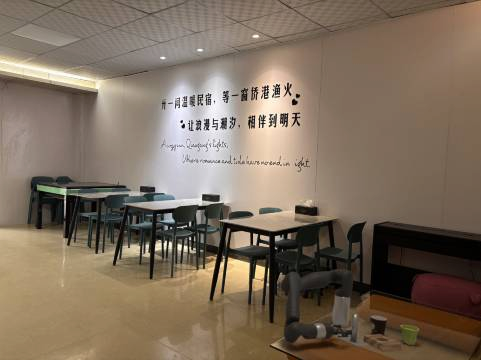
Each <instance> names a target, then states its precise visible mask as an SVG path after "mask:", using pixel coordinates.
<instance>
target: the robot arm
mask: <svg viewBox="0 0 481 360" xmlns="http://www.w3.org/2000/svg"><path fill="white" fill-rule="evenodd" d="M353 283H354V274H353V272H352V271H351V270H348V269H345V268H337V269H332V270H329V271H325V270H324V271H315V272H311V273H309V274H308V273H307V274H306V275H304V276H302V277H301V276H300V274H299V273H298V272H295V271H290V272H288V273H287V274H286V275H285V277H284V278H283V279H282V280H281V283H280V288H281V290H282V291H283V292H284V293H286V294H288V297H287V301H286V306H285V322H284V326H283V327H284V328H283V336H284V340H286V342H287V343H289V344H293V343H296V342H297V341H298V339H299V338H300V337H302V338H303V339H305V340H329V339H330V338H332V336H335V337H336V336H337V338H339V339H341V338H340V337H348V336H351V335H352V330H351V329H348V330H347V329H342V328H343V327H345V328H346V327H349V322H350V308H351V295H352V291H353V285H354V284H353ZM329 284H339V285H341V287H340V289H336V290H335V291H334V302H333V303H334V304H333V307H332V314H331V316H332V317H331V318H332V319H331V322H330V323H329V322H317V323H316V322H315V323H308V324H307V323H304V322H300V320H301V318H300V317H301V315H300V297H301V292H303V291H307V290H309V291H310V290H314V289H322V288H326V287H327V286H328V285H329Z"/></svg>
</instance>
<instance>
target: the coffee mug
mask: <svg viewBox="0 0 481 360" xmlns="http://www.w3.org/2000/svg"><path fill="white" fill-rule="evenodd" d="M369 320H370V321H369V322H370V323H371V324H370V325H371V335H372V334H373V335H376V334H381V335H384V336H385V333H386V326H387V321H388V319H387V318H386V317H383V316H381V315H371V316H370V318H369Z"/></svg>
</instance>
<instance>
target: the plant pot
mask: <svg viewBox="0 0 481 360" xmlns="http://www.w3.org/2000/svg"><path fill="white" fill-rule="evenodd" d="M400 328H401V335H402V343H406V344H405V345H407V344H408V345H407V346H415V345H416V343H417V337H418V334H419V331H420V328H418V327H417V326H414V325H411V324H410V325H409V324H400ZM414 344H415V345H414Z"/></svg>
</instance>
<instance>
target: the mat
mask: <svg viewBox="0 0 481 360" xmlns="http://www.w3.org/2000/svg"><path fill="white" fill-rule="evenodd" d="M339 339H341V340H343V341H345V342H347V343H348V344H350V343H352V344H354V345H357V346H356V347H360V346H361V347H362V346H371V345H370V344H368V343H366V342H364V340H362V339H360V338H358V337H357V342H351V341H350V339H351V335H348V337H340V338H339ZM352 344H351V345H352ZM354 345H353V346H354Z"/></svg>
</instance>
